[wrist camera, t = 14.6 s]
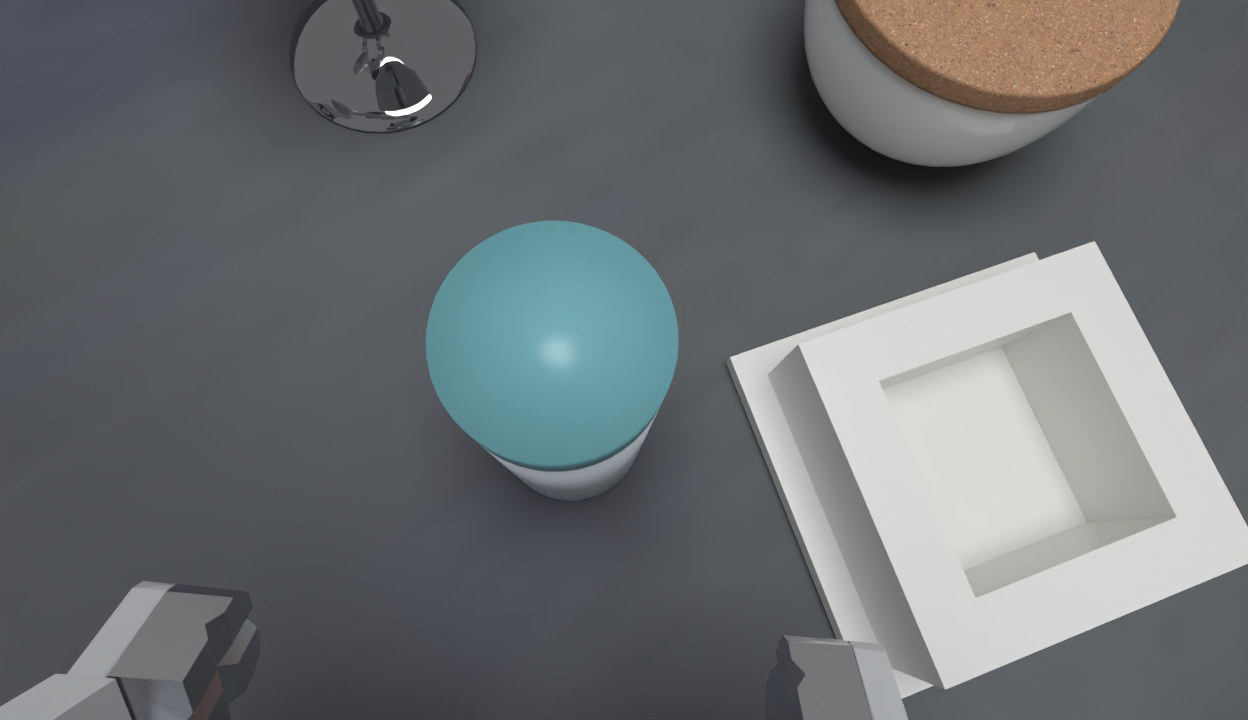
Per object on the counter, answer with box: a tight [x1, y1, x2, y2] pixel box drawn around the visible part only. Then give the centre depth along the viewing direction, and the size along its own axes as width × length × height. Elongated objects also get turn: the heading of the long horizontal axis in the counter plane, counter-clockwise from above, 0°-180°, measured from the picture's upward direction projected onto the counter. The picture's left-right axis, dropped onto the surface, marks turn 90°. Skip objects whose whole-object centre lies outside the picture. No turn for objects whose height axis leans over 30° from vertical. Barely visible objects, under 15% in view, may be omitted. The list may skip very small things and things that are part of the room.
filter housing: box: [726, 241, 1248, 699], centre depth 24 cm, size 12×12×5 cm
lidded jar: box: [803, 0, 1181, 167], centre depth 25 cm, size 11×11×9 cm
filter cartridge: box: [426, 221, 679, 501], centre depth 20 cm, size 5×5×12 cm
